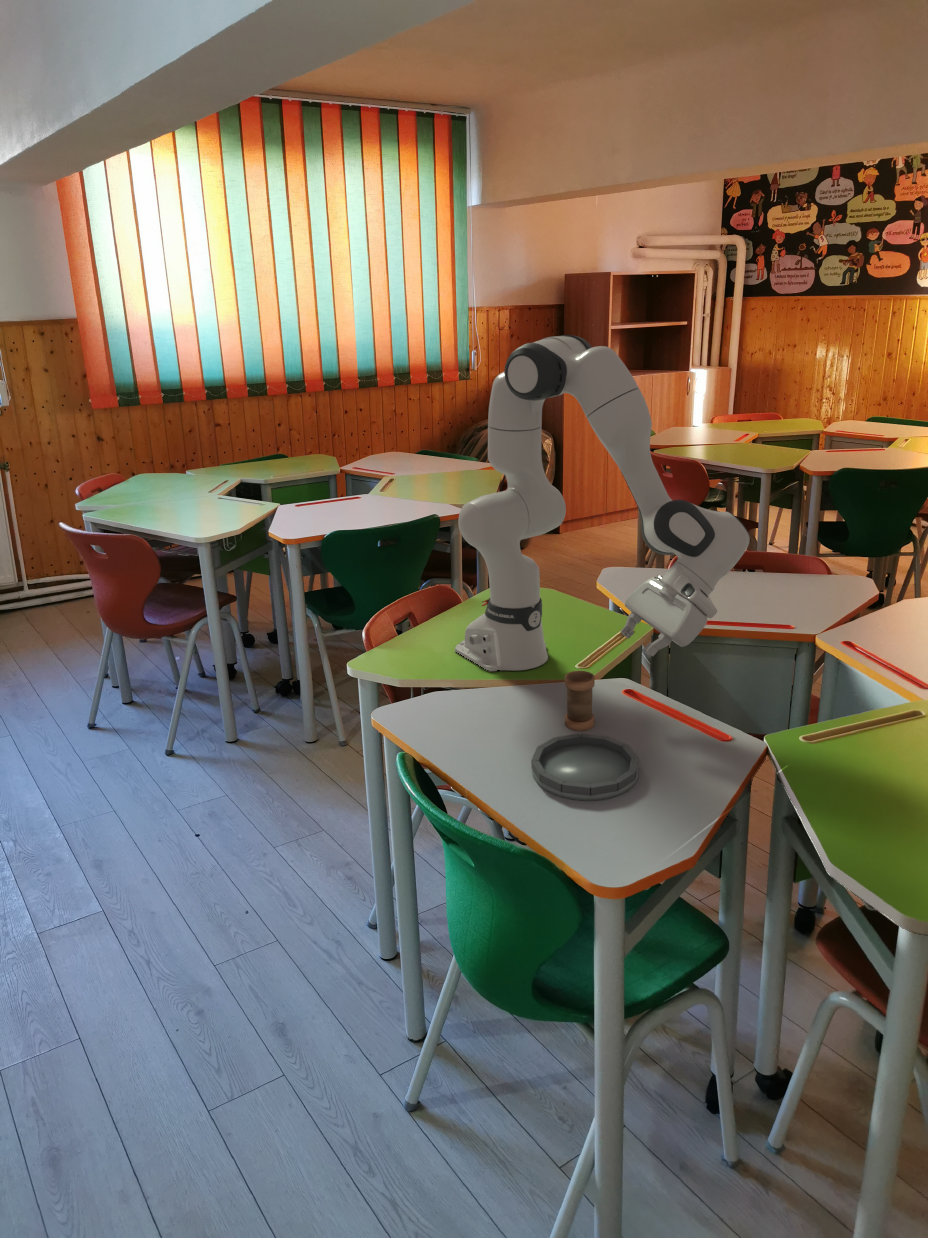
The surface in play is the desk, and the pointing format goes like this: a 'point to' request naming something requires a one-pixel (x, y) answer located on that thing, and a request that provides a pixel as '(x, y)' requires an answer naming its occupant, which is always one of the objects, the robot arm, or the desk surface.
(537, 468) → the robot arm
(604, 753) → the round dish
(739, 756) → the desk surface
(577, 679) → the brown flared cylinder
